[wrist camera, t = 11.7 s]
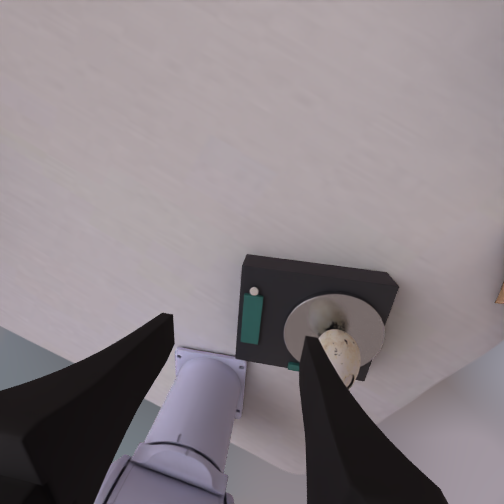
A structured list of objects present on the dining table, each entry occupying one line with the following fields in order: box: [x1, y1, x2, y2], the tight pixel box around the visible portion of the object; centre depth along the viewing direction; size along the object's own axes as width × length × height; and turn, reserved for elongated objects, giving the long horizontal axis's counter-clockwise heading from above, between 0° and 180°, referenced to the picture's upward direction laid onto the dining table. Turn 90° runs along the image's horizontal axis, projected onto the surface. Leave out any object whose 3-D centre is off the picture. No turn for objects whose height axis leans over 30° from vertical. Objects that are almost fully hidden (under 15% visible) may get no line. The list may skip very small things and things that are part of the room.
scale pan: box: [283, 291, 385, 367], centre depth 20 cm, size 8×8×1 cm
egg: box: [319, 329, 361, 390], centre depth 17 cm, size 3×3×5 cm
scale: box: [235, 254, 399, 381], centre depth 21 cm, size 10×12×3 cm
